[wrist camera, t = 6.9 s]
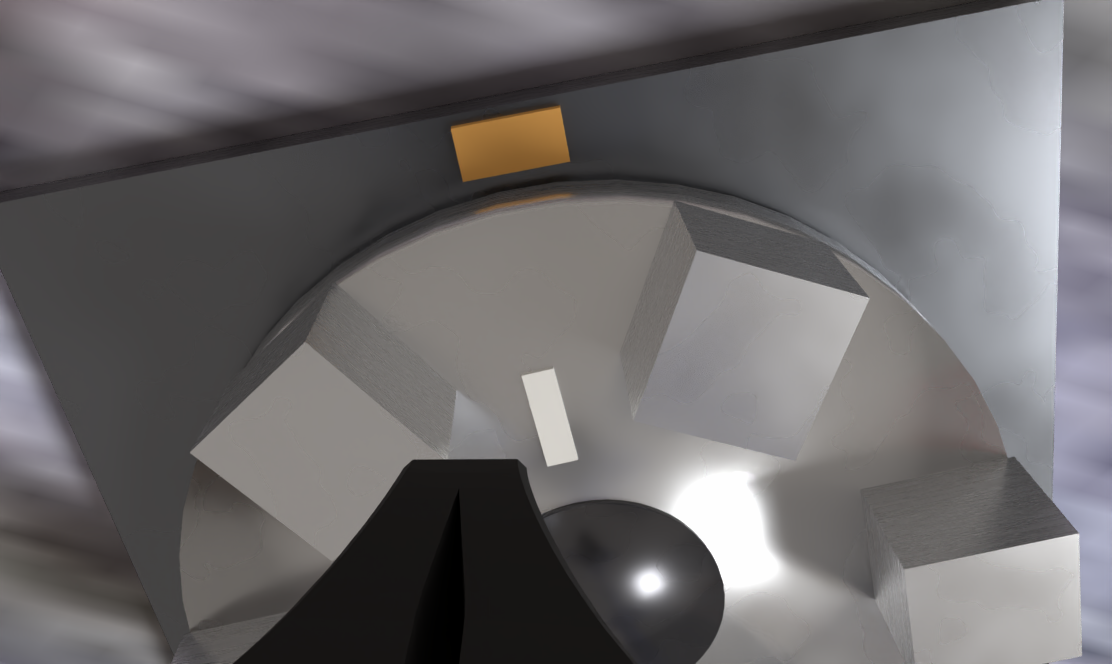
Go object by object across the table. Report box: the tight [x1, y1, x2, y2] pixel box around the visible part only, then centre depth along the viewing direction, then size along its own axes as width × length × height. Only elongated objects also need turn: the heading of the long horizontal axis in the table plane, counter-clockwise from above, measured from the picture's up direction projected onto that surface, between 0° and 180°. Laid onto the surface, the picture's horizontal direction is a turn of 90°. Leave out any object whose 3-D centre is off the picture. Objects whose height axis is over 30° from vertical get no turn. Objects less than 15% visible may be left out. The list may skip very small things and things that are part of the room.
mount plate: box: [0, 0, 1064, 664], centre depth 23 cm, size 20×20×1 cm
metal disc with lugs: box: [171, 179, 1082, 664], centre depth 20 cm, size 17×17×4 cm
